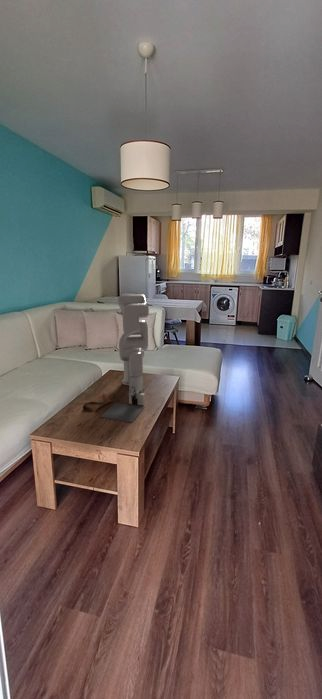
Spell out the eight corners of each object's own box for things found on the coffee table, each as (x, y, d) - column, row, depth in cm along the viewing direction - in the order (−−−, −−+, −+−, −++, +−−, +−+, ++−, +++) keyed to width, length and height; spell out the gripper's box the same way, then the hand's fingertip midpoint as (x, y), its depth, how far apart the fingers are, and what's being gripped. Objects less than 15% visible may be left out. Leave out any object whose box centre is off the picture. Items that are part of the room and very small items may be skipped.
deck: (130, 402, 192) (130, 391, 191) (145, 403, 190) (144, 393, 188) (129, 403, 190) (128, 393, 188) (143, 405, 188) (143, 395, 186)
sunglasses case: (94, 413, 178) (89, 402, 179) (86, 416, 182) (81, 405, 182) (114, 400, 194) (109, 390, 194) (106, 404, 197) (101, 394, 197)
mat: (115, 403, 190) (115, 402, 190) (144, 407, 184) (144, 406, 184) (100, 417, 173) (100, 416, 173) (132, 422, 168) (132, 421, 168)
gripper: (135, 367, 194) (136, 395, 199) (123, 377, 178) (125, 407, 183) (147, 368, 192) (148, 396, 196) (136, 378, 176) (137, 409, 181)
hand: (137, 401), depth 190 cm, fingers open, 6 cm apart
